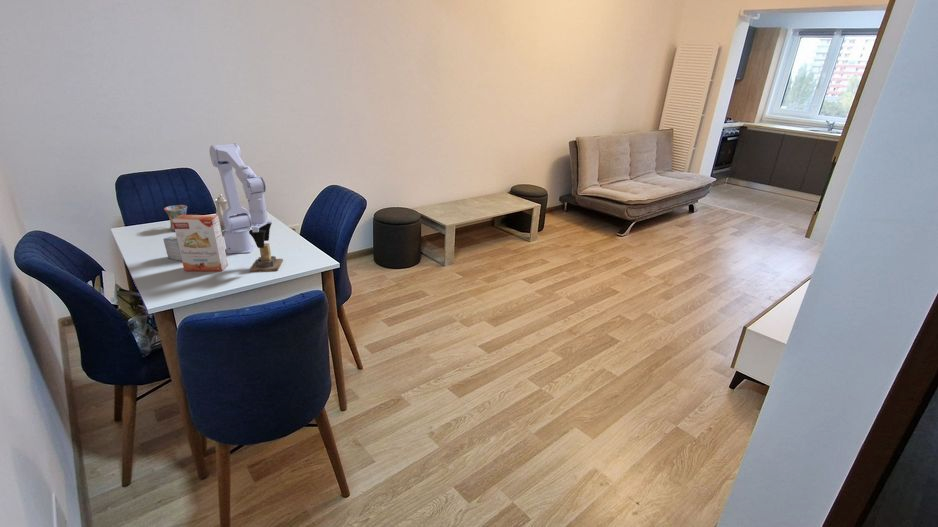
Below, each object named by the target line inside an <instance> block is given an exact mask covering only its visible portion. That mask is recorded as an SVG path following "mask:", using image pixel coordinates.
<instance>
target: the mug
mask: <svg viewBox="0 0 938 527" xmlns="http://www.w3.org/2000/svg"><path fill="white" fill-rule="evenodd" d="M163 210H164V212H165V213H166V214H167V216H168V218H169V222H170V225H169V230H170V231H174V232H175V229H174V224H173V220H172V219H174V218H176V217H177V216H179V215H187V210H188V206H187V205H184V204H177V205H169V206H166V207H164V208H163Z"/></svg>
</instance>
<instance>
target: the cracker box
mask: <svg viewBox="0 0 938 527" xmlns="http://www.w3.org/2000/svg"><path fill="white" fill-rule="evenodd" d="M172 220H173V224H174V229H175V231H174V233H175V236H176V237H177V241H178V246H179V250H180V254H181V258H182V266H183V270H184V272H185V271H186V272H187V271H189V272H191V271H192V272H193V271H195V272H196V271H197V272H210V271H211V272H222V271H223V270H224V269H226V267H228V266H229V264H228V263H229V262H228V258H227V253H226V252H227V251H226V246H225V241H224V236H223V233H222V231H223V230H222V229H221V226H220V222H219V216H218V215H216V214H215V215H212V214H211V215H210V214H205V215H203V214H202V215H201V214H186V215H179V216H177V217H176V218H174V219H172Z"/></svg>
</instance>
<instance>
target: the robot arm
mask: <svg viewBox="0 0 938 527" xmlns="http://www.w3.org/2000/svg"><path fill="white" fill-rule="evenodd" d="M209 157H210V160H211V164H212V166H213V167H215V168H217V169H218V172H219V176H220V179H221V184H222V187H223V188H222V189H223V191H224V197H225V198H226V200H227V204H228V209H227V210H226V211H225V212H224V213H223V223H224V227H225V229H226V231H225V229H224V233H223V241H224V246H225V252H226V254H247V253H249V254H250V253H252V251H253V250H254V248H255V247H257V248H258V249H260V248H264V244H265V242H266V241H267V242H269V241H270V232H271V231H270V230H271V226H272V224H273V223H272V219H271V220H270V219H268V212H267V206H266V199H265V192H266V190H267V186H266V182H265V180H264V178H263V177H262V176H259V175H256V173H255V172H254V171H253V169H252V168H251V166H249V165H246V164H245V162H244V161H243V160H242V158H241V157H242V151H241V148H240V146H239V144H237V143H231V144H230V143H229V144H216V145H215V144H211V145H210V147H209ZM233 169H234V170H235V172H233ZM234 174H235V175H236V178H237V179H238V180H239V181H240V183H242V189H243V192H244V194H245V198H246V199H247V203H248V208H245V207H243V206H242V204H241V200H240V196H239V191H238V188H237V184H236V179H235V175H234ZM247 209H249V210H250V213H249V211H248V210H247ZM240 213H243V214H240ZM237 214H239V215H237ZM231 215H233V216H231ZM251 237H252V239H253V240H254V243H255V244H253V245H252V240H251Z"/></svg>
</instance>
